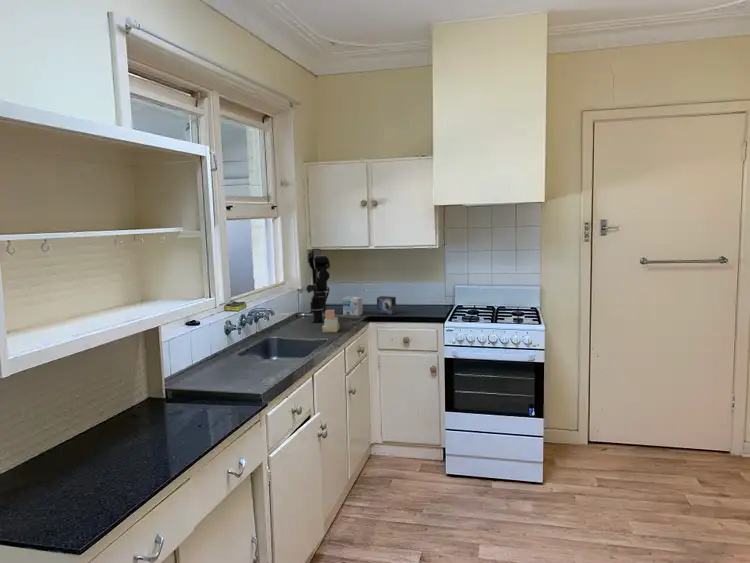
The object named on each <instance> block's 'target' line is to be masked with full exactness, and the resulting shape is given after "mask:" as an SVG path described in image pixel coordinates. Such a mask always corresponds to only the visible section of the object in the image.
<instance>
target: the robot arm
mask: <svg viewBox="0 0 750 563" xmlns="http://www.w3.org/2000/svg"><path fill="white" fill-rule="evenodd" d="M306 257H307V258H306V260H307V261H306V262H307V263H308V266H309V268H310V269H311V277H312V284H309V285H307V286H306V288H305V289H306V292H307V293H308V294H309V293H311V292H312V294H313V295H312V296H311V299H310V303H309V311H310V313H312V320H311V323H323V322H324V319H325V318H323V317H324V316H323V315H324V314H323V312H325V311H326V310H327V308H326V306H327V304H326V303H327V301H328V298H329V294H330V290H331V289H330V286H328V280H329V279H330V272H328V271H327V270H329V269H330V268H331V264H330V259H329V258H328V257H327V255H325V254H323V252H321V248H312V249H311V251H309V252H308V253H307V256H306Z"/></svg>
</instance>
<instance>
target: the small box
mask: <svg viewBox="0 0 750 563" xmlns="http://www.w3.org/2000/svg"><path fill="white" fill-rule="evenodd" d="M396 302H397V300H396V296H387V295H386V296H384V295H380V296H377V297H376V309H377V310H376V313H377V315H387V316H389V315H390V316H393V315H395V314H397V305H396V304H397V303H396Z"/></svg>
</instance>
